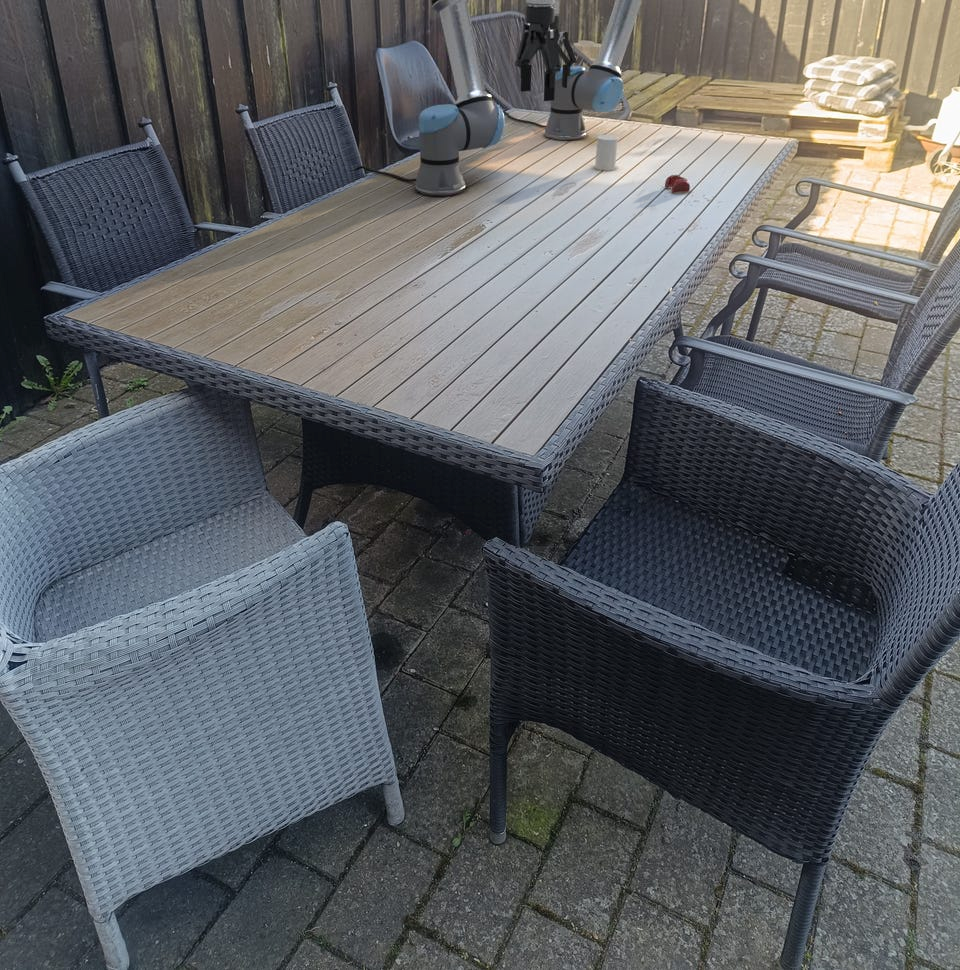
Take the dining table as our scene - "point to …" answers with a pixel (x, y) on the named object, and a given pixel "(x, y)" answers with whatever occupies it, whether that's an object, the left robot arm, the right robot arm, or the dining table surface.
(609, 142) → the canister
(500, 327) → the dining table surface
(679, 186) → the dental model
